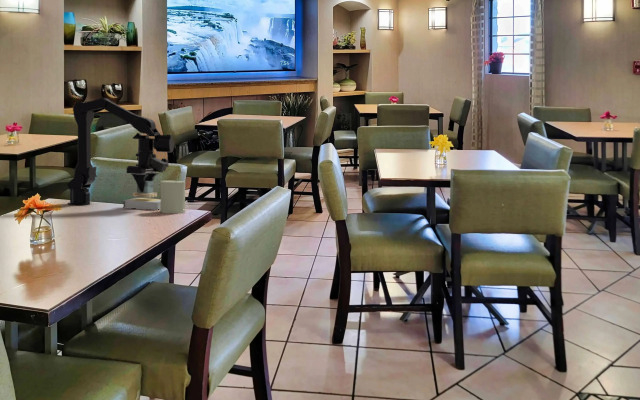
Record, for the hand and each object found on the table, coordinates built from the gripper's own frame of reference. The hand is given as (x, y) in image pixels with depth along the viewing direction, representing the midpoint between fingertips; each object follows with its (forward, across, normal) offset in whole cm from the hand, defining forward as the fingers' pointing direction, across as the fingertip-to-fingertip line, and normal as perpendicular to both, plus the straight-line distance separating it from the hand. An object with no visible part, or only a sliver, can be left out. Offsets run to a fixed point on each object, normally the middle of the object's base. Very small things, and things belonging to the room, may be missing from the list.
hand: (145, 191), depth 232 cm
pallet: (+2, 0, 0) cm, 2 cm away
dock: (+6, 0, -1) cm, 6 cm away
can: (+7, -7, -15) cm, 18 cm away
